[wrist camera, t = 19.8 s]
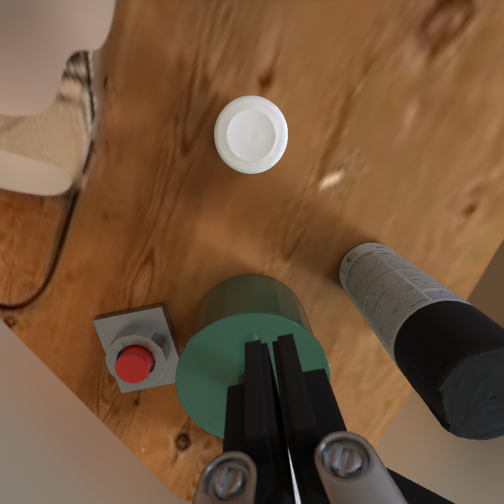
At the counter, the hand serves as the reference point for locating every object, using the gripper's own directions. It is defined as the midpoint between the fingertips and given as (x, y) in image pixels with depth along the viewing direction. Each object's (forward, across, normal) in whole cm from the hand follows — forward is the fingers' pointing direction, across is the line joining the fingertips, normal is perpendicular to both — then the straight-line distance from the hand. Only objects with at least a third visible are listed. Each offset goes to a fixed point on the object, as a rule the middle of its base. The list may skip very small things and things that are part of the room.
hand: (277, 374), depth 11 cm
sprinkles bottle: (+25, -1, -8) cm, 27 cm away
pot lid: (+16, +3, +12) cm, 20 cm away
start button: (+23, +16, +12) cm, 30 cm away
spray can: (+25, -11, +8) cm, 29 cm away
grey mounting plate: (+25, +16, +12) cm, 32 cm away
